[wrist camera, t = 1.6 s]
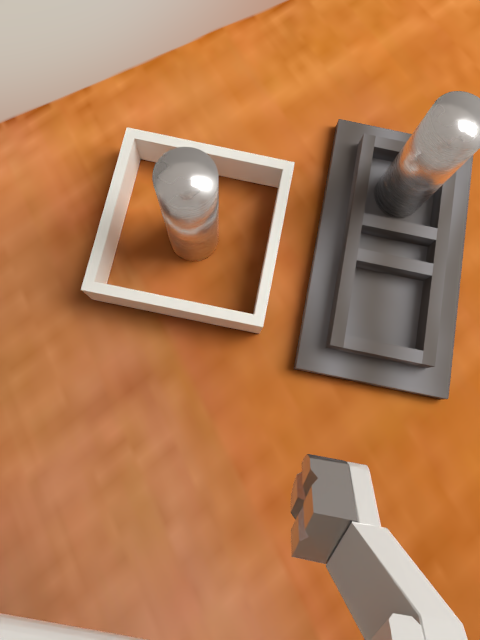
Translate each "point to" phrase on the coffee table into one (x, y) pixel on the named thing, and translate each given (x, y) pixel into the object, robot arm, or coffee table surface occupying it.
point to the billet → (188, 201)
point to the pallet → (383, 273)
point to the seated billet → (431, 154)
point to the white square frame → (114, 214)
